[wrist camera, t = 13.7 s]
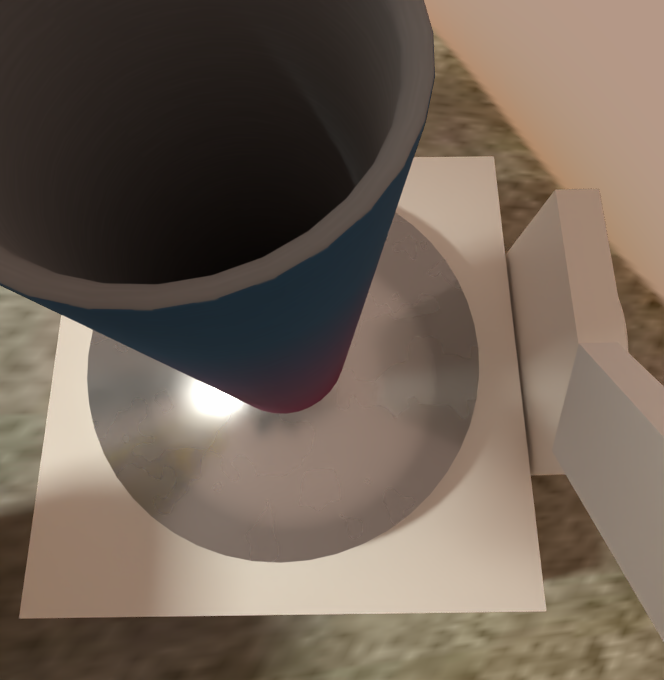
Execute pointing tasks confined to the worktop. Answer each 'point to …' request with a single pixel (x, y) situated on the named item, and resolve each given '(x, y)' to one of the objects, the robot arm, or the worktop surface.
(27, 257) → the cup
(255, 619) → the worktop surface
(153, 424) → the pan
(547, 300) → the scale
